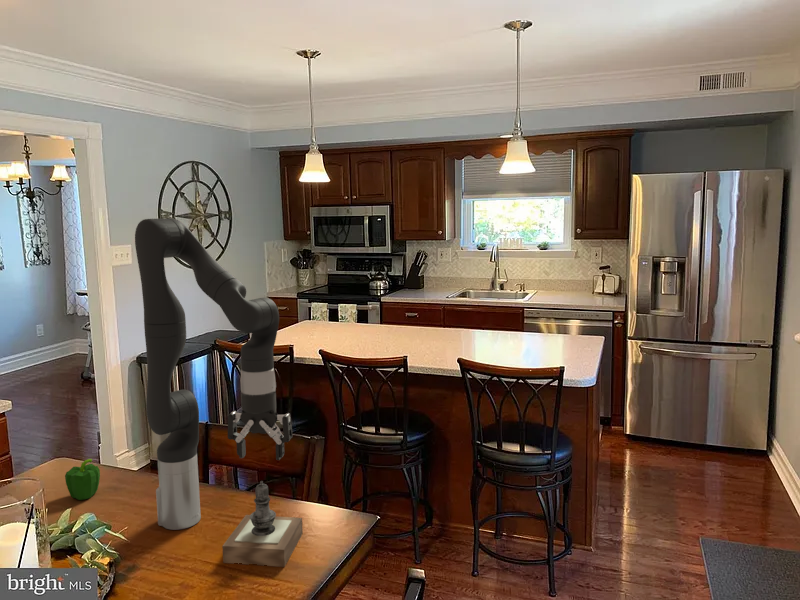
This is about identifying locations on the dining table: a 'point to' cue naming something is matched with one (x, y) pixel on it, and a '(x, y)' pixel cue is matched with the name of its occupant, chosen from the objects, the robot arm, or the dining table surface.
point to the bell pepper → (83, 480)
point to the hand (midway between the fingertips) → (260, 457)
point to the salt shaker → (262, 512)
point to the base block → (263, 543)
